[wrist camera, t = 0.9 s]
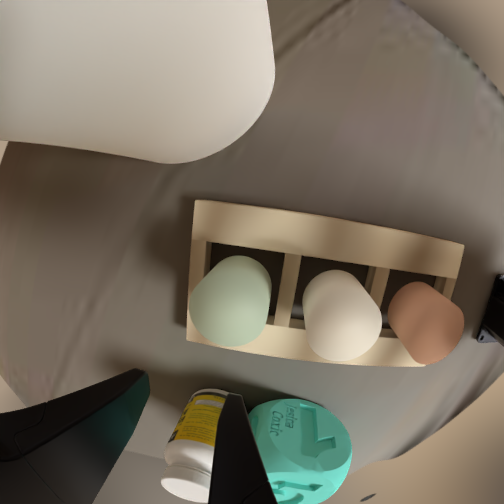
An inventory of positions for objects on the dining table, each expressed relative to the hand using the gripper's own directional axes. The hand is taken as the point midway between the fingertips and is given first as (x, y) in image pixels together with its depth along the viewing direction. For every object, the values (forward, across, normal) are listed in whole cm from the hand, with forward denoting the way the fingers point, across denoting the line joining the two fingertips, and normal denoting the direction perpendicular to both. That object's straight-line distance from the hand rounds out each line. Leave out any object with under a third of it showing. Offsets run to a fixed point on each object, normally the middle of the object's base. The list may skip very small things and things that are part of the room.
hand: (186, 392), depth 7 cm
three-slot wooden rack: (+12, -6, 0) cm, 13 cm away
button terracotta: (+10, -12, 0) cm, 16 cm away
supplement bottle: (+12, +1, +13) cm, 18 cm away
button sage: (+10, 0, 0) cm, 10 cm away
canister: (+12, +6, -14) cm, 20 cm away
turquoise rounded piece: (+12, -6, +14) cm, 20 cm away
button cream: (+10, -6, 0) cm, 12 cm away
